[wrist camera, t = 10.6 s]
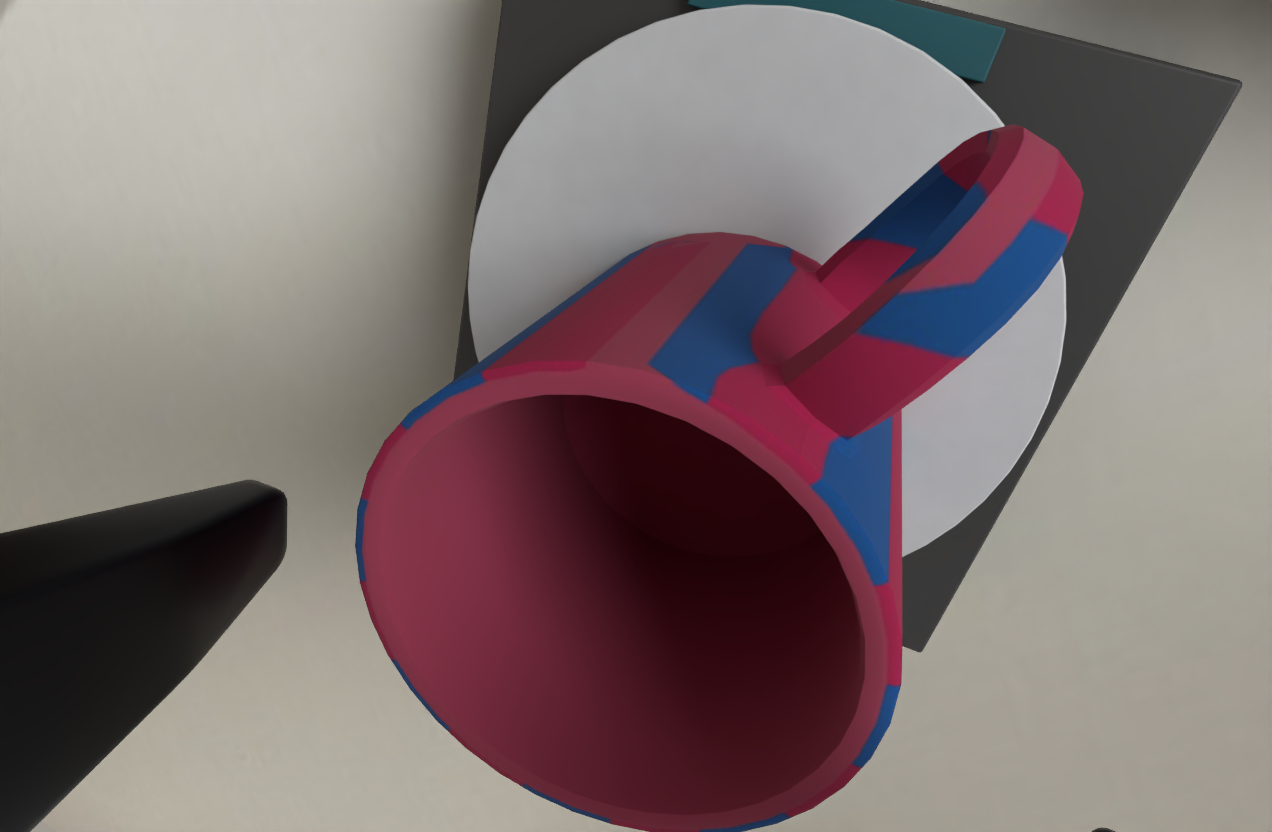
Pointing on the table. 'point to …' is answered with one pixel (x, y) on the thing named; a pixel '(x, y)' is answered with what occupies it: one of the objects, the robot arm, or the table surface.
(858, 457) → the cup
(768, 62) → the scale
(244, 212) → the table surface
